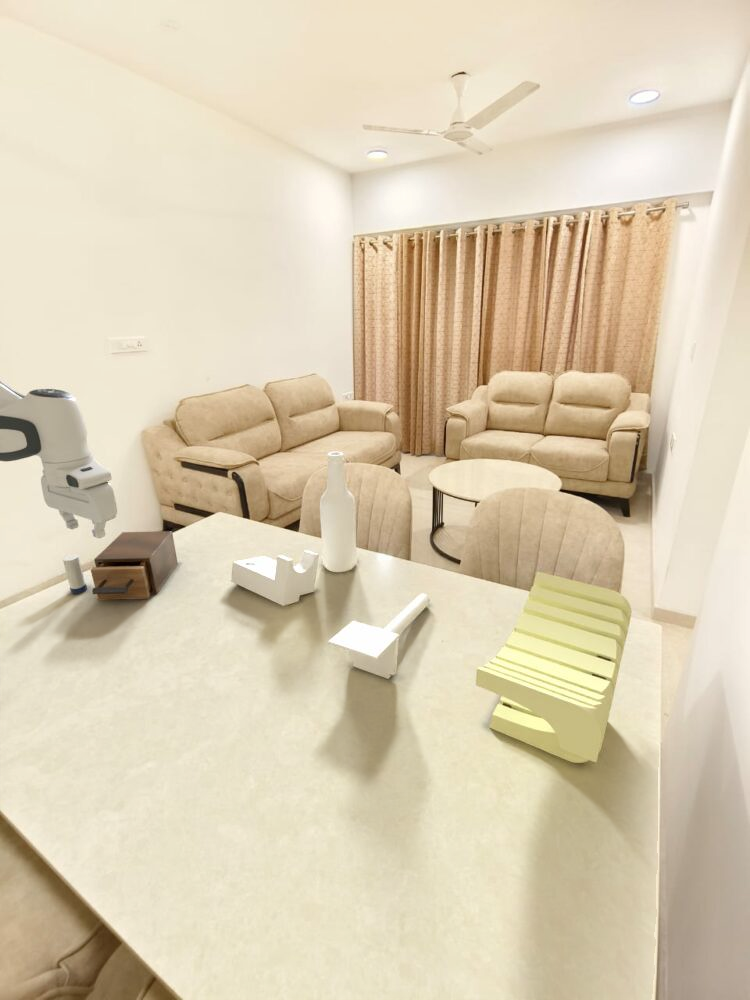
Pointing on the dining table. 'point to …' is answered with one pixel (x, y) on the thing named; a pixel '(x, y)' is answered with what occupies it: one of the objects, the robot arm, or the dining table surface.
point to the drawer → (122, 580)
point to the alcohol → (338, 519)
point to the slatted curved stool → (560, 668)
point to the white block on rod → (378, 640)
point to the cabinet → (144, 554)
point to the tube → (74, 574)
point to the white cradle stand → (277, 576)
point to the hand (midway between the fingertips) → (86, 532)
